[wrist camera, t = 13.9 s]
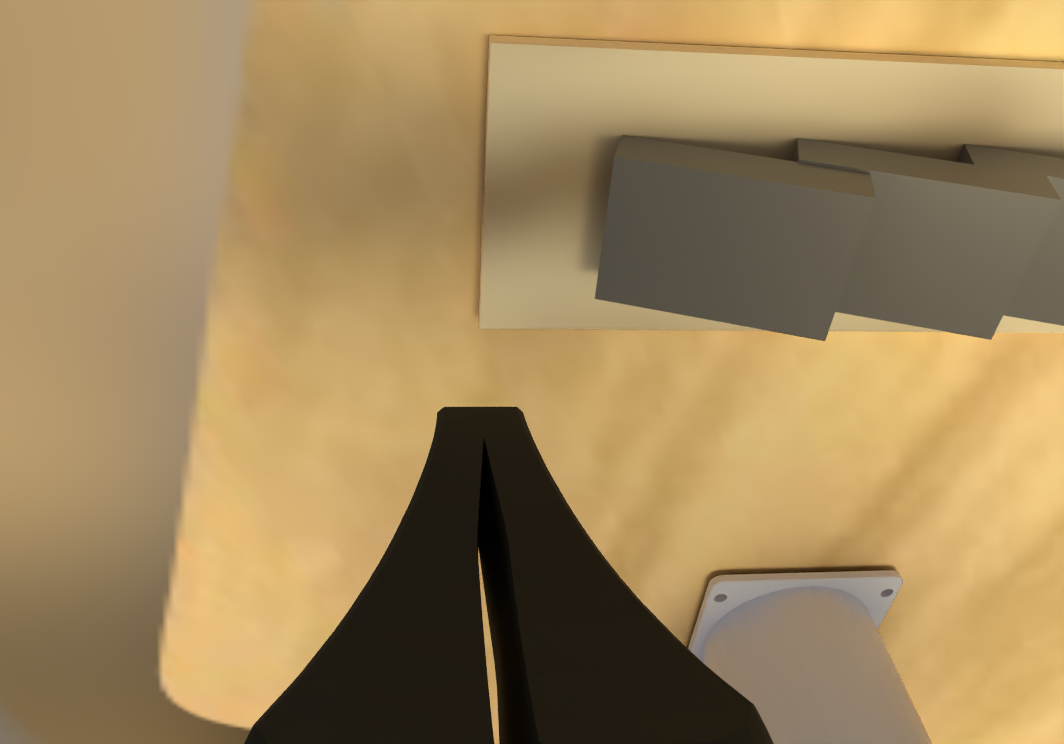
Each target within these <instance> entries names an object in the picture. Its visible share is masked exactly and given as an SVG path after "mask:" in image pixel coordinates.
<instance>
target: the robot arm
mask: <svg viewBox="0 0 1064 744" xmlns="http://www.w3.org/2000/svg"><path fill="white" fill-rule="evenodd" d="M478 547H479V554H480V561H481V568H482V576H483V583H484V590H485V597H486V605H487V612H488V619H489V626H490V633H491V640H492V647H493V655H494V662H495V671H496V682H497V696H498V719H499V741H500V744H932V742H931V740H930V738H929V736H928V734H927V732H926V730H925V728H924V725H923V723H922V721H921V719H920V717H919V715H918V713H917V711H916V709H915V707H914V705H913V703H912V700H911V698H910V696H909V694H908V692H907V690H906V688H905V686H904V684H903V682H902V680H901V678H900V675H899V673H898V671H897V669H896V667H895V665H894V663H893V661H892V659H891V657H890V655H889V653H888V651H887V648H886V646H885V644H884V642H883V640H882V638H881V636H880V634H879V632H878V630H877V629H878V628H879V626H880V624H881V622H882V620H883V618H884V617H885V615H886V613H887V611H888V609H889V607H890V606H891V604H892V602H893V600H894V598H895V596H896V595H897V593H898V591H899V589H900V587H901V585H902V583H903V580H902V578H901V576H900V574H899V572H897V571H893V570H881V571H844V572H807V573H771V574H734V575H718V576H716V577H714V578H713V579H711V580H710V582H709V584H708V587H707V590H706V593H705V596H704V600H703V603H702V606H701V609H700V612H699V615H698V618H697V622H696V625H695V628H694V631H693V634H692V637H691V640H690V644H689V647H688V648H687V647H685V646H684V645H683V644H682V643H681V642H680V641H679V640H678V639H677V638H676V637H675V636H674V635H673V634H672V633H671V632H670V631H669V630H668V629H667V628H666V627H665V626H664V625H663V624H662V623H661V622H660V621H659V620H658V619H657V618H656V616H655V615H654V614H653V613H652V612H651V611H650V610H649V609H648V608H647V607H646V606H645V605H644V604H643V603H642V602H641V601H640V600H639V599H638V598H637V596H636V595H635V594H634V593H633V592H632V591H631V589H630V588H629V587H628V586H627V585H626V584H625V582H624V581H623V580H622V579H621V578H620V577H619V575H618V574H617V573H616V571H615V570H614V569H613V568H612V566H611V565H610V564H609V563H608V561H607V560H606V559H605V558H604V556H603V555H602V554H601V552H600V551H599V550H598V548H597V547H596V545H595V544H594V543H593V541H592V540H591V538H590V537H589V536H588V534H587V533H586V531H585V530H584V528H583V527H582V525H581V524H580V522H579V521H578V519H577V518H576V516H575V515H574V513H573V512H572V510H571V508H570V507H569V505H568V504H567V502H566V500H565V499H564V497H563V495H562V493H561V492H560V490H559V488H558V486H557V485H556V483H555V481H554V480H553V478H552V476H551V474H550V472H549V471H548V469H547V467H546V465H545V463H544V461H543V459H542V457H541V455H540V453H539V451H538V449H537V447H536V445H535V442H534V440H533V438H532V436H531V433H530V431H529V428H528V426H527V423H526V421H525V418H524V414H523V412H522V411H521V410H520V409H519V408H518V407H444V408H442V409H441V410H440V411H439V412H437V423H436V428H435V433H434V438H433V442H432V445H431V449H430V452H429V455H428V458H427V461H426V464H425V467H424V469H423V472H422V475H421V477H420V480H419V482H418V485H417V487H416V490H415V492H414V495H413V497H412V499H411V502H410V504H409V506H408V508H407V510H406V512H405V514H404V516H403V518H402V521H401V523H400V525H399V527H398V529H397V531H396V533H395V535H394V537H393V539H392V541H391V543H390V544H389V546H388V548H387V550H386V552H385V554H384V555H383V557H382V559H381V561H380V562H379V564H378V566H377V567H376V569H375V571H374V572H373V574H372V576H371V577H370V579H369V581H368V582H367V584H366V585H365V587H364V588H363V590H362V591H361V593H360V594H359V596H358V598H357V599H356V601H355V602H354V604H353V605H352V607H351V608H350V610H349V611H348V613H347V614H346V615H345V617H344V618H343V620H342V621H341V622H340V624H339V625H338V626H337V628H336V629H335V631H334V632H333V633H332V634H331V636H330V637H329V638H328V639H327V641H326V642H325V643H324V645H323V646H322V647H321V648H320V650H319V651H318V652H317V653H316V655H315V656H314V657H313V658H312V660H311V661H310V662H309V663H308V665H307V666H306V667H305V669H304V670H303V671H302V672H301V673H300V674H299V676H298V677H297V678H296V679H295V680H294V681H293V683H292V684H291V685H290V686H289V687H288V688H287V689H286V690H285V691H284V692H283V693H282V695H281V696H280V697H279V698H278V699H277V700H276V701H275V702H274V703H273V704H272V705H271V706H270V708H269V709H268V710H267V711H266V712H265V713H264V714H263V715H262V716H261V717H260V718H259V720H258V721H257V722H256V723H255V724H254V725H253V727H252V729H251V731H250V733H249V735H248V737H247V739H246V741H245V743H244V744H494V738H493V729H492V719H491V709H490V699H489V689H488V679H487V667H486V656H485V644H484V633H483V620H482V606H481V593H480V579H479V564H478Z"/></svg>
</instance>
